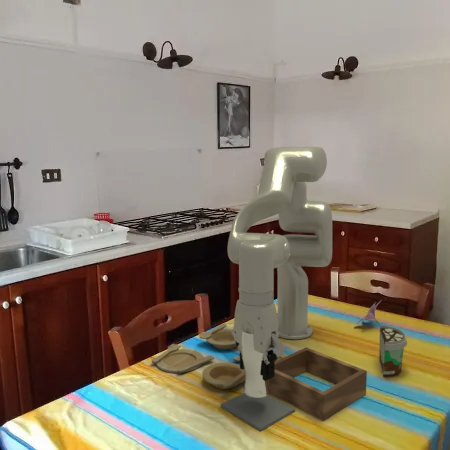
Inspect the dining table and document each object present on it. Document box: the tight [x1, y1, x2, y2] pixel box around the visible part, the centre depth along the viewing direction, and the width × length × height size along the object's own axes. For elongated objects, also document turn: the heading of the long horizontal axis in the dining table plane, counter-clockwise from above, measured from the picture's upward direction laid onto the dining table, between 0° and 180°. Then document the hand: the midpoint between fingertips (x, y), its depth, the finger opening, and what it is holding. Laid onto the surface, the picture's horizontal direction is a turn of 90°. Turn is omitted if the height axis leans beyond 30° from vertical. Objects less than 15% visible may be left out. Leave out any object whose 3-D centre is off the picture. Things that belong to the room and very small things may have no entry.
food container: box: [378, 324, 408, 378], centre depth 126 cm, size 12×6×10 cm, turn 168°
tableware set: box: [151, 323, 291, 390], centre depth 133 cm, size 35×29×4 cm
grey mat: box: [220, 392, 296, 432], centre depth 109 cm, size 13×11×1 cm
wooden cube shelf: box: [269, 346, 368, 422], centre depth 116 cm, size 18×16×6 cm
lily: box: [354, 299, 383, 327], centre depth 155 cm, size 12×12×10 cm
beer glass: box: [241, 330, 271, 398], centre depth 107 cm, size 7×7×15 cm
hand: (256, 372), depth 108 cm, fingers closed on beer glass, 6 cm apart
